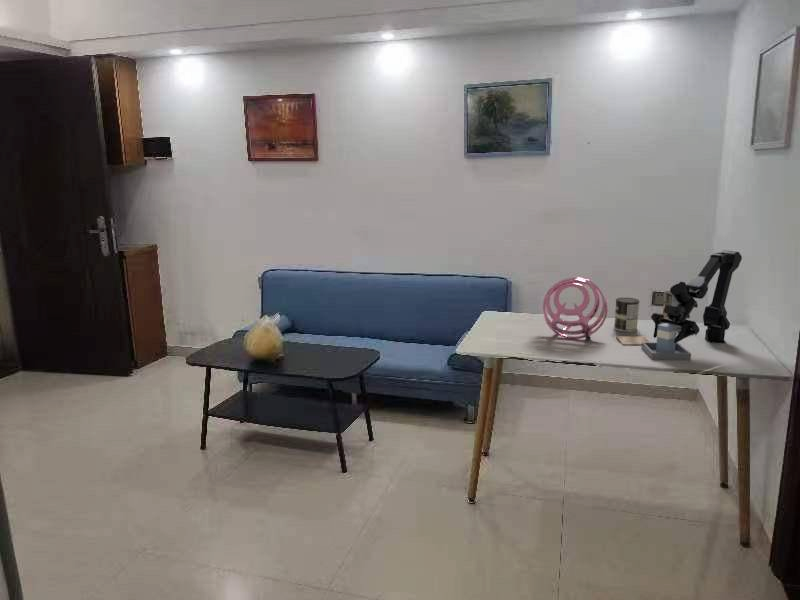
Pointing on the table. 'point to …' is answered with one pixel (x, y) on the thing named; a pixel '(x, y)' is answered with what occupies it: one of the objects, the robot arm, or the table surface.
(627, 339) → the pad
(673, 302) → the coffee box
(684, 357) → the tray
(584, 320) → the spiral basket
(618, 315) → the coffee can
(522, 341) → the table surface
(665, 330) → the carton
